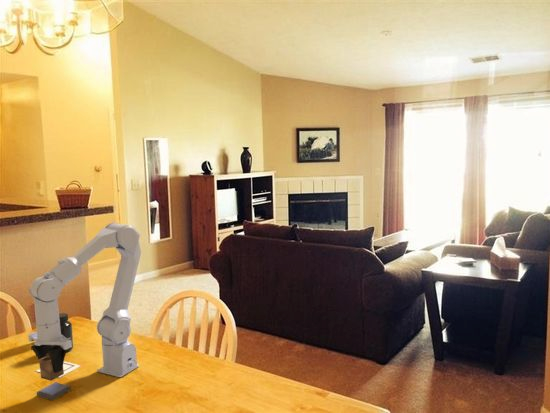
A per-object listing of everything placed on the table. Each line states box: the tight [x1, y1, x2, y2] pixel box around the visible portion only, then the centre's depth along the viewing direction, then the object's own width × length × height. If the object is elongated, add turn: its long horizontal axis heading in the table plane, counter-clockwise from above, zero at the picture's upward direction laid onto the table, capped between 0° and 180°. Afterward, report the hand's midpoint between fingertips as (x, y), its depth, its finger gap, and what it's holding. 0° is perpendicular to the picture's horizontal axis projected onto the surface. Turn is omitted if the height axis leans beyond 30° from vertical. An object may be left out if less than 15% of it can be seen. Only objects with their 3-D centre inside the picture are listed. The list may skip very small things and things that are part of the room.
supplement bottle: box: [52, 312, 74, 353], centre depth 154 cm, size 7×7×12 cm
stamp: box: [38, 353, 64, 382], centre depth 126 cm, size 4×4×6 cm
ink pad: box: [36, 381, 72, 401], centre depth 127 cm, size 6×6×1 cm
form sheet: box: [35, 360, 82, 379], centre depth 141 cm, size 10×8×1 cm
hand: (52, 369), depth 126 cm, fingers closed on stamp, 4 cm apart
